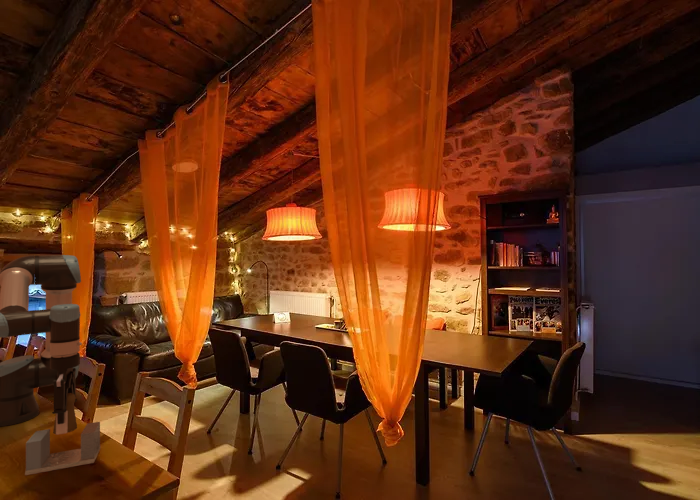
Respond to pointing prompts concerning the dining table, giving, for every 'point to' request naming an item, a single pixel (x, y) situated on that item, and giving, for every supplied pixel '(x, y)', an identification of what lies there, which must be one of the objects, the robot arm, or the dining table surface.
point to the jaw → (37, 449)
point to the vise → (74, 452)
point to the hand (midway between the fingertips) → (65, 428)
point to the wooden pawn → (69, 414)
